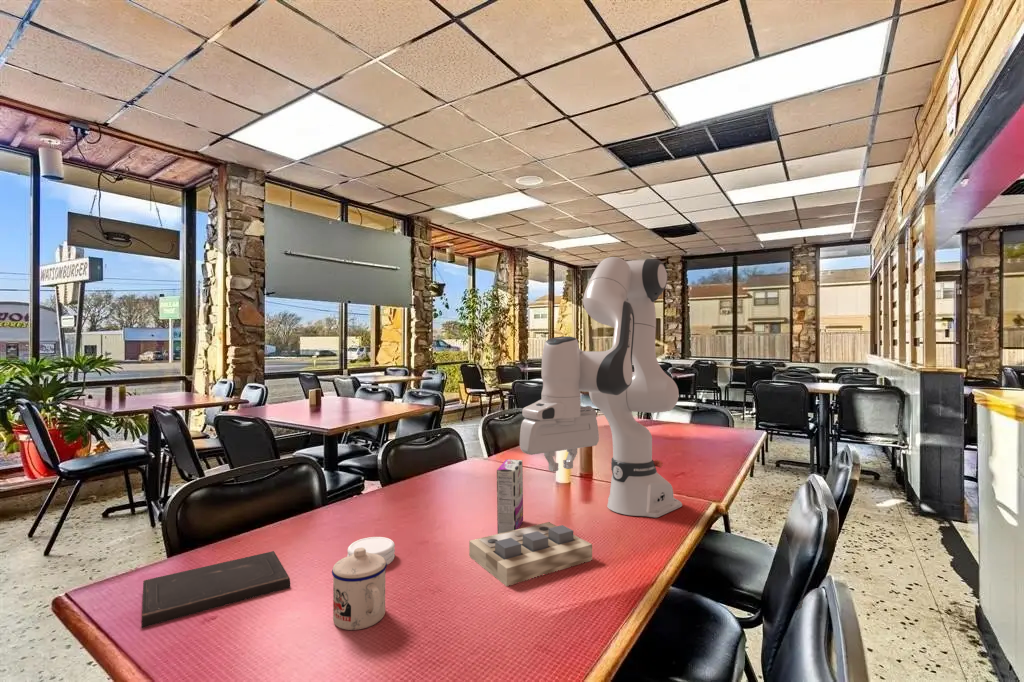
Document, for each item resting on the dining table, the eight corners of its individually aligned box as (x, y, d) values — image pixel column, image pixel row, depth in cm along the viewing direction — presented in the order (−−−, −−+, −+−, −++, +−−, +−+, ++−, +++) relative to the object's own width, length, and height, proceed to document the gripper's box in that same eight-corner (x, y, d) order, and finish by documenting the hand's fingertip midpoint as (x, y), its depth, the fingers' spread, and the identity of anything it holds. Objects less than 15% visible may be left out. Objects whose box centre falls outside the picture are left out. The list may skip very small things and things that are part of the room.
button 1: (511, 551, 105) (511, 537, 105) (521, 558, 102) (521, 544, 102) (495, 555, 103) (495, 541, 103) (504, 562, 100) (504, 548, 100)
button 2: (562, 538, 113) (562, 525, 113) (573, 544, 109) (573, 530, 109) (548, 541, 110) (548, 528, 110) (559, 547, 107) (559, 534, 107)
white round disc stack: (403, 554, 110) (403, 539, 110) (377, 574, 101) (377, 557, 101) (365, 548, 113) (366, 533, 113) (337, 567, 104) (337, 550, 104)
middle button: (537, 544, 109) (537, 531, 109) (548, 550, 105) (548, 537, 105) (522, 548, 107) (522, 534, 107) (533, 555, 103) (533, 541, 103)
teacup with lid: (323, 615, 85) (324, 548, 85) (373, 597, 91) (373, 535, 91) (350, 647, 76) (351, 572, 76) (403, 625, 82) (404, 556, 82)
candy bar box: (505, 519, 132) (505, 458, 132) (523, 520, 131) (523, 459, 131) (495, 535, 121) (495, 468, 121) (515, 536, 120) (515, 469, 120)
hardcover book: (143, 592, 94) (143, 580, 94) (273, 561, 108) (273, 550, 108) (141, 631, 81) (141, 617, 81) (290, 590, 95) (290, 578, 95)
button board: (548, 536, 120) (548, 520, 120) (592, 560, 107) (592, 542, 107) (469, 556, 109) (469, 539, 109) (506, 586, 95) (506, 566, 95)
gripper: (586, 403, 118) (586, 460, 118) (515, 409, 107) (515, 472, 107) (604, 406, 113) (604, 466, 113) (532, 413, 102) (532, 479, 102)
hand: (560, 469), depth 110 cm, fingers open, 3 cm apart
